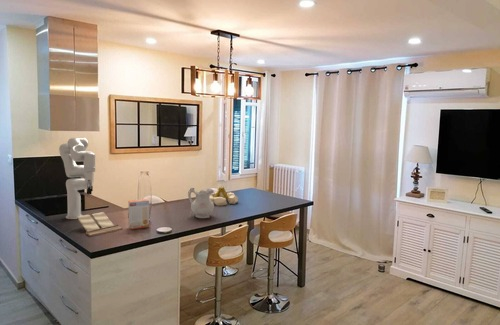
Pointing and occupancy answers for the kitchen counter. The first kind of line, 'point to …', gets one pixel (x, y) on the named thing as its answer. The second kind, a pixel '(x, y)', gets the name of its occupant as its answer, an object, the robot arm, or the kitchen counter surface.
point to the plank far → (102, 220)
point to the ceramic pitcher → (201, 203)
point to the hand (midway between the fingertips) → (89, 192)
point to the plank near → (88, 222)
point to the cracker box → (138, 214)
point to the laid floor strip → (103, 230)
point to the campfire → (223, 197)
